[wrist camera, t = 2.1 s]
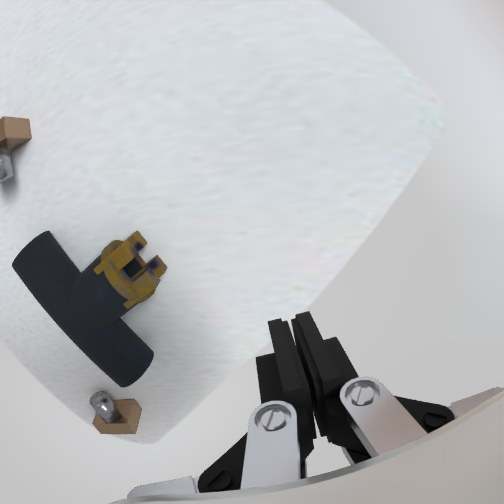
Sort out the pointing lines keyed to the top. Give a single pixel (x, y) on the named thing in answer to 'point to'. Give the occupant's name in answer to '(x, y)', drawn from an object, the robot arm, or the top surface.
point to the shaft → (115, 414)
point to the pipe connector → (95, 299)
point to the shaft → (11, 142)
